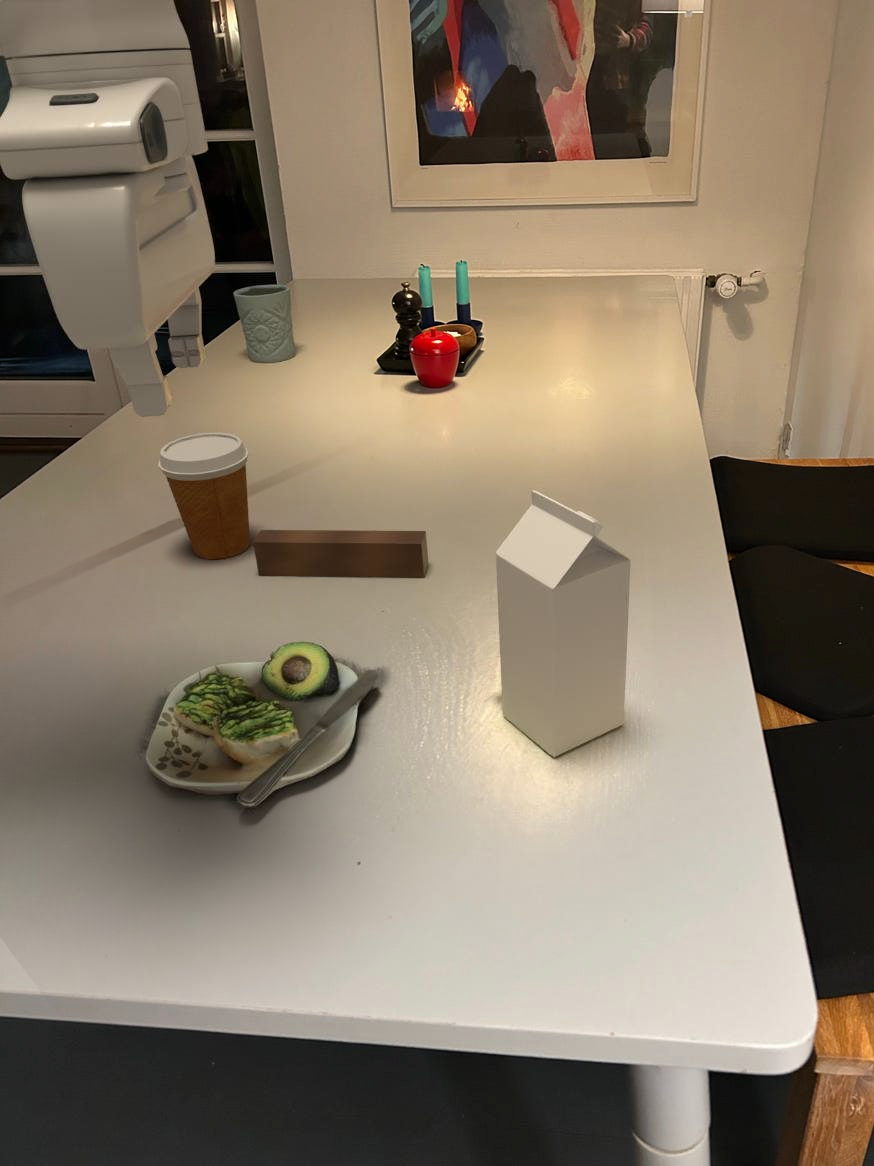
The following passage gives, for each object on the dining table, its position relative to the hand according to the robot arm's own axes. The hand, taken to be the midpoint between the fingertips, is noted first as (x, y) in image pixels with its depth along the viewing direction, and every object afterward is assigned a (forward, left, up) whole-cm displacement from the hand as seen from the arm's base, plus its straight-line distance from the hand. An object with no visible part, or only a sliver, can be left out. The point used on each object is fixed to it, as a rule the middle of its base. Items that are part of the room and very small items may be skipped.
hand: (174, 386), depth 56 cm
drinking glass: (-91, +86, -31) cm, 129 cm away
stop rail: (-19, +29, -31) cm, 46 cm away
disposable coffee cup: (-35, +26, -31) cm, 53 cm away
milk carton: (+15, +19, -31) cm, 39 cm away
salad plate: (-5, +5, -31) cm, 32 cm away
